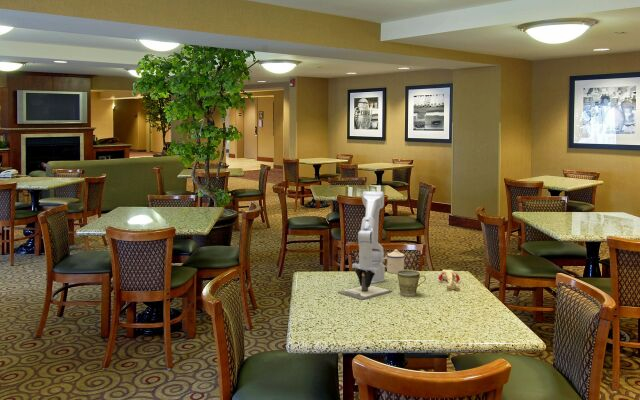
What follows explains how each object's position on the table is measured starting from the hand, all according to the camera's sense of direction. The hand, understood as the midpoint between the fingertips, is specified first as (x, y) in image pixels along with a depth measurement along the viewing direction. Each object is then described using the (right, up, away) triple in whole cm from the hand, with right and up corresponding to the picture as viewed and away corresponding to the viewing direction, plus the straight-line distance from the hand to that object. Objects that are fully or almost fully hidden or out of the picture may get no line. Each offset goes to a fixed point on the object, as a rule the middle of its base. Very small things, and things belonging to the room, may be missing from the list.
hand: (365, 286), depth 269 cm
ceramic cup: (+21, -4, -2) cm, 21 cm away
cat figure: (+42, -2, +17) cm, 45 cm away
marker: (0, -2, 0) cm, 2 cm away
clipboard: (0, -3, +1) cm, 3 cm away
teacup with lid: (+17, +1, +41) cm, 45 cm away
